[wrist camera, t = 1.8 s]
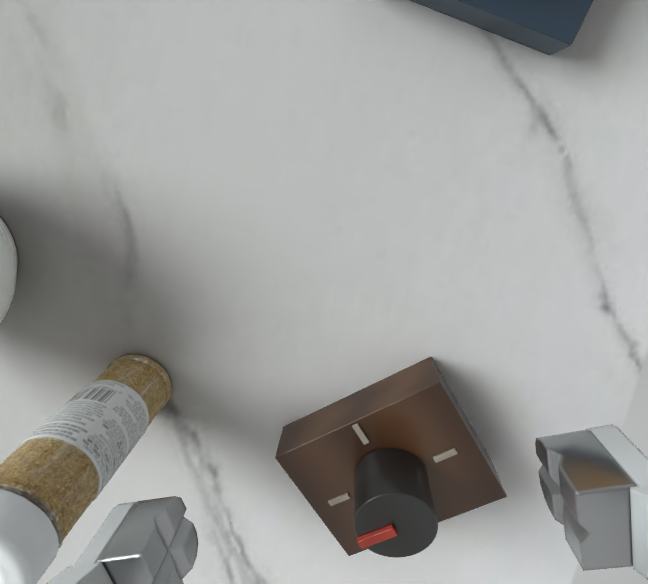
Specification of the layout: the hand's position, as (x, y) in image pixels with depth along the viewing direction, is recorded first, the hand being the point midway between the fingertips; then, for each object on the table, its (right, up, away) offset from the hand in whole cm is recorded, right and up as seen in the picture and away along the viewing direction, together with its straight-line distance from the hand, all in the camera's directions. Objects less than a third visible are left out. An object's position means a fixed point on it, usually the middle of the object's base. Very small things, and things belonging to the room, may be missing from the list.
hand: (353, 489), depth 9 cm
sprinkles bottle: (-13, -1, +19) cm, 23 cm away
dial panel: (+4, -6, +19) cm, 20 cm away
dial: (+3, -7, +16) cm, 18 cm away
